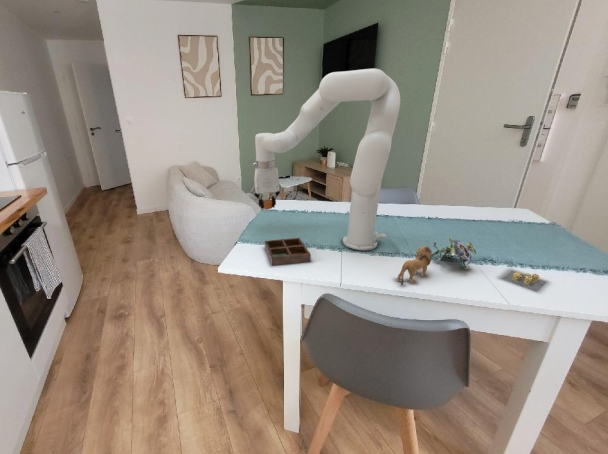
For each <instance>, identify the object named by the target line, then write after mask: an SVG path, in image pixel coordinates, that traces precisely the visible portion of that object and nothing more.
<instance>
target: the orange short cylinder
mask: <svg viewBox="0 0 608 454" xmlns="http://www.w3.org/2000/svg"><path fill="white" fill-rule="evenodd" d="M262 200H263V209H262V210H271V209H273V204H272V200H271V199H262Z"/></svg>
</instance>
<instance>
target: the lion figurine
mask: <svg viewBox="0 0 608 454" xmlns="http://www.w3.org/2000/svg"><path fill="white" fill-rule="evenodd" d="M432 252H433V251H432V249H431V248H430V247H429V246H428V245H421V246H420V247H419V248H416V249H415V253H416V258H415V259H408V260H406V261H404V263H403V264H402V267H401V270H400V272H399V274H398V275H397V279H396V281H398V282H400V285H401V286H403V285H404V276H405V273H406V271H408V272H407V273H408V274H409V277H408V279H409V281H410V283H412V284H416V280H415V279H414V276H415V275H416V274H417V273H418V271H421V270H422V271H421V273H420V275H421V276H422V277H427V275H426V272H427V270H428V266H430V265H431V262H432V257H433V256H432V254H433V253H432Z"/></svg>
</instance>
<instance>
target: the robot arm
mask: <svg viewBox="0 0 608 454" xmlns="http://www.w3.org/2000/svg"><path fill="white" fill-rule="evenodd" d="M318 85H319V86H318V88H317V89H316V91H315V92H314V93H313V94H312V95H311V96H310V97H309V98H308V99H307V100H306V102H305V103H303V104H302V106H301V107H300V110H299V113H298V115H297V117H296V119H295V120H294V121H293V122H292V123H291V124H290V125H289V126H288V127H287V128H286V129H285V130H283V131H280V132H276V133H272V132H259V133H257V134H255V137H254V143H255V162H252V167H256V168H254V176H253V179H254V180H253V183H254V184H253V186H252V187H251V189H250V191H249V194H250V195H253V196H254V197H256V199H258V207H260V209H261V210H264V209H263V200H264V199H263V194H271V195H272V196H271V198H270V200H272V204H273V208H275V207H276V205H277V203H276V202H277V197H278V196H279V195H280V194H281V193H283V191H284V190H285V189H284V188H283V186H282V185H281V184H280V177H279V169H278V167H276V158H275V157H276V155H275V154H284V153H286V152H289V151H291V150H292V149H294V148H295V147H297V146H298V145H299V143H301V142H302V141H303V140H304V139H305V138H306V137H307V136H308V135H309V134H310V133H311V132H312V131H313V130H314V129H315V128H316V127H317V126H318V125H319V124H320V123H321V121H323V120H324V119H325V118H326V117H327V116H328V115H329V114H330V113H331V112H332V111H333V110H334V109H335V108H336V107H338V105H339V104H341V103H342V102H344V103H345V102H361V101H369V102H370V103H371V108H370V113H369V116H368V120H367V125H366V129H365V132H364V136H363V137H362V138H361V140H360V142H359V143H358V146H357V149H356V154H355V158H354V161H353V167H352V169H351V174H350V178H349V186H350V188H351V197H350V206H349V214H348V226H347V235H345V236H343V238H342V243H343V245H344V246H346V247H347V248H349V249H352V250H356V251H370V250H371V251H372V250H375V249H376V248H377V247H378V240H380V239H381V240H382V239H386V238H387V234H386V233H380V232H379V231H375V230H376V223H377V215H378V209H379V201H380V195H381V194H380V193H381V188H382V182H383V177H384V174H385V170H386V168H387V163H388V160H389V158H390V153H391V149H392V142H393V141H392V140H393V136H394V133H395V128H396V124H397V121H398V118H399V113H400V108H401V93H400V89H399V88H398V87H399V86H398V85H397V83H396V82H395V81H394V80H393V79H392V78H391V77H390V76H389V75H388V74H386V73H385V72H384V71H383V70H382V69H380V68H364V69H356V70H355V69H354V70H345V71H344V70H343V71H333V72H330V73H328V74H325V76H324V77H322V79H321V80H320V82H319V84H318ZM273 208H272V209H273Z"/></svg>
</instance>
